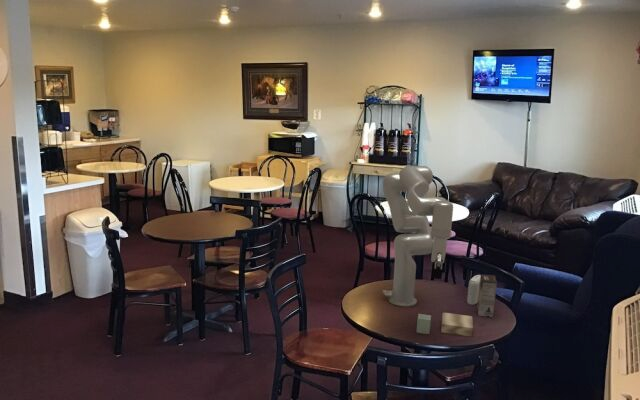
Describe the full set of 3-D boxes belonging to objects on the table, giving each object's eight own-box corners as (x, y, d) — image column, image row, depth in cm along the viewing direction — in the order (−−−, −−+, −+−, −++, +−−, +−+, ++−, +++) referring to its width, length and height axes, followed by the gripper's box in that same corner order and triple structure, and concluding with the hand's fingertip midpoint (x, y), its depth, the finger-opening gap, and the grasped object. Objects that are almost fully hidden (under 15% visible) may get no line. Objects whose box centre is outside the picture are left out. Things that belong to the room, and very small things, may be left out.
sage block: (416, 332, 221) (417, 318, 220) (417, 327, 226) (418, 313, 225) (429, 334, 220) (430, 320, 219) (429, 329, 225) (431, 315, 224)
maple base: (440, 333, 223) (441, 323, 222) (441, 321, 234) (442, 312, 233) (471, 337, 220) (472, 328, 219) (471, 325, 231) (472, 316, 231)
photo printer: (474, 305, 251) (477, 279, 249) (465, 303, 254) (468, 277, 252) (483, 299, 259) (486, 274, 257) (475, 297, 262) (477, 272, 259)
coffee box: (476, 307, 249) (480, 273, 246) (491, 309, 248) (495, 275, 245) (478, 315, 240) (481, 280, 237) (493, 317, 239) (497, 282, 236)
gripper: (431, 226, 226) (427, 267, 229) (430, 237, 209) (427, 280, 212) (450, 228, 224) (446, 269, 228) (451, 239, 208) (447, 282, 211)
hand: (437, 274), depth 220 cm, fingers open, 9 cm apart
